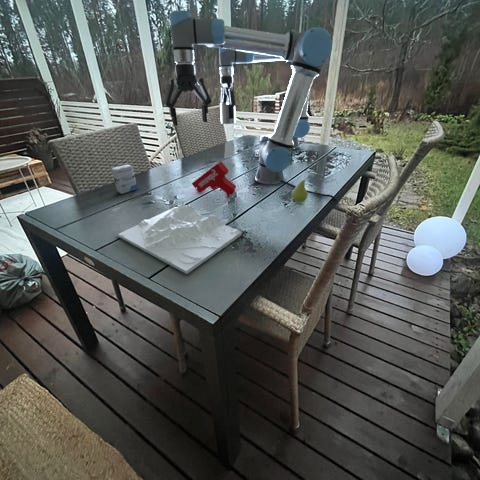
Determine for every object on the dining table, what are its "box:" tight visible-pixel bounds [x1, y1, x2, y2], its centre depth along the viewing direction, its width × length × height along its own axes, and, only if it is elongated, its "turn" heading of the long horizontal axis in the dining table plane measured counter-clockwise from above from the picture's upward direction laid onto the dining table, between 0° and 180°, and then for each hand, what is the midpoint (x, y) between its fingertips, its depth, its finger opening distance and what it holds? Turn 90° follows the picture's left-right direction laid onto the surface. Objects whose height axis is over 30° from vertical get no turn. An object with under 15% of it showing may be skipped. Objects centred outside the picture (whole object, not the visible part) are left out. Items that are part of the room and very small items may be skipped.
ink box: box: [110, 164, 138, 195], centre depth 131 cm, size 8×5×12 cm, turn 135°
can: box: [219, 101, 236, 125], centre depth 169 cm, size 9×9×11 cm
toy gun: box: [191, 161, 237, 197], centre depth 128 cm, size 18×4×15 cm
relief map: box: [117, 202, 243, 275], centre depth 96 cm, size 27×35×5 cm
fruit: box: [291, 174, 311, 204], centre depth 118 cm, size 7×8×12 cm
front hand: (190, 123), depth 115 cm, fingers open, 13 cm apart
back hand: (228, 117), depth 170 cm, fingers closed on can, 9 cm apart
